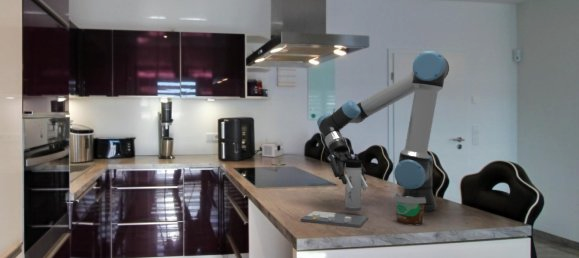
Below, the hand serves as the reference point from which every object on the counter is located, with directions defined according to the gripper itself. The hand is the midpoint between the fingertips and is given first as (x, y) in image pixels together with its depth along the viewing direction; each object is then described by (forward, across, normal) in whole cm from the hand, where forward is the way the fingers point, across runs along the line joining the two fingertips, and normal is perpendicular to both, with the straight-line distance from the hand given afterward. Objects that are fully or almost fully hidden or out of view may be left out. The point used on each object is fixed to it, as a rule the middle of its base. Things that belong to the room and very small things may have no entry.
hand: (358, 189), depth 167 cm
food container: (+19, -11, +3) cm, 22 cm away
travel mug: (+4, 0, -9) cm, 9 cm away
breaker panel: (+9, +12, -6) cm, 16 cm away
